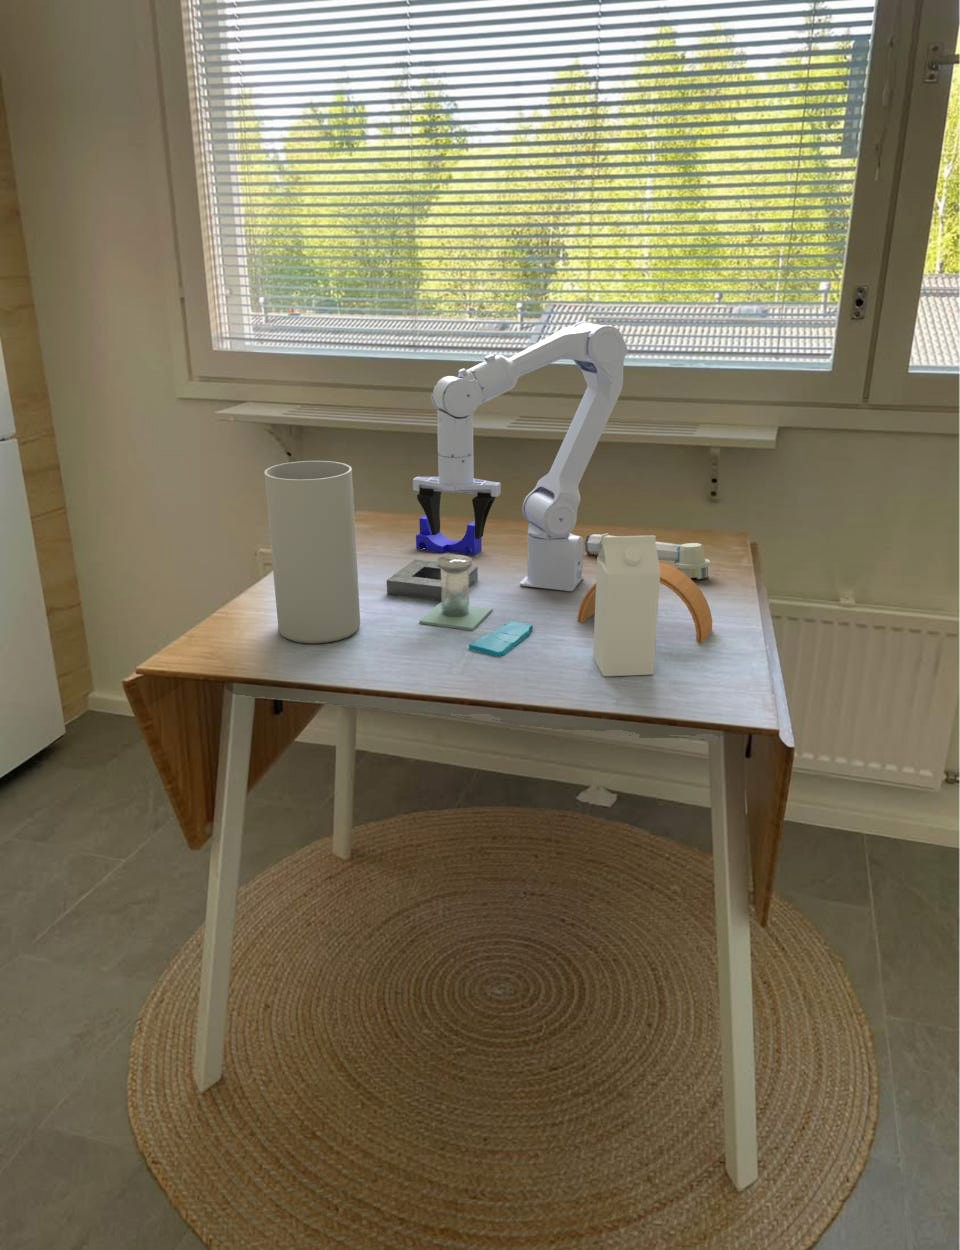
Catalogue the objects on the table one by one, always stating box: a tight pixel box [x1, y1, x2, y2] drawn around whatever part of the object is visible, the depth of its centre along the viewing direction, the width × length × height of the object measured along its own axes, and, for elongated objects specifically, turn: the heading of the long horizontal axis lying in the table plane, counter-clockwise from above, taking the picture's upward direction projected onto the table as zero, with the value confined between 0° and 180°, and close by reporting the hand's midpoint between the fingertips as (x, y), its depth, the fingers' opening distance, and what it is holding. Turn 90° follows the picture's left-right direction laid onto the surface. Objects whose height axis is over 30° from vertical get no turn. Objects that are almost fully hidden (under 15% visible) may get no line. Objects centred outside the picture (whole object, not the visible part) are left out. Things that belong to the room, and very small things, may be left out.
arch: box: [576, 561, 713, 644], centre depth 148 cm, size 6×20×10 cm, turn 62°
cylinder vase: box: [263, 460, 361, 645], centre depth 144 cm, size 12×12×25 cm
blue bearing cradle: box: [415, 514, 483, 556], centre depth 186 cm, size 12×4×6 cm, turn 63°
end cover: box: [436, 554, 473, 617], centre depth 153 cm, size 5×5×9 cm
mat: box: [419, 601, 493, 631], centre depth 154 cm, size 9×9×1 cm
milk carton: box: [592, 534, 661, 677], centre depth 132 cm, size 7×7×19 cm
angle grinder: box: [584, 532, 711, 580], centre depth 177 cm, size 5×7×25 cm
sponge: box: [468, 620, 533, 658], centre depth 145 cm, size 2×12×6 cm
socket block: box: [385, 559, 479, 602], centre depth 167 cm, size 12×12×2 cm
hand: (457, 535), depth 160 cm, fingers open, 7 cm apart
